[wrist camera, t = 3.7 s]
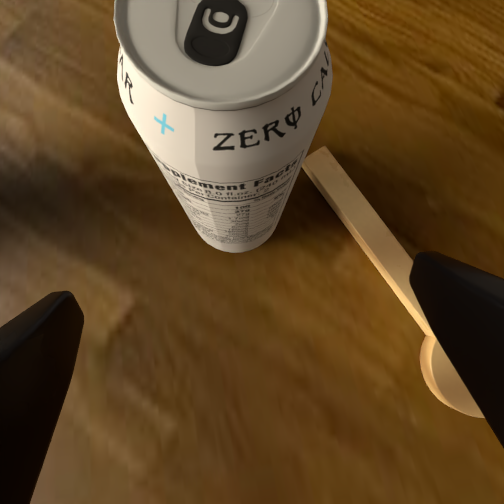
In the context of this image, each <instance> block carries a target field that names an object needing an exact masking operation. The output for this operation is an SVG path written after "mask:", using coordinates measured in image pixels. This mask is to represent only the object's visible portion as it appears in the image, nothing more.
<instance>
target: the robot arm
mask: <svg viewBox="0 0 504 504" xmlns="http://www.w3.org/2000/svg"><path fill="white" fill-rule="evenodd" d="M409 283H410V286H411V288H412V290H413V292H414V294H415V296H416V299H417V301H418V303H419V305H420V307H421V309H422V311H423V313H424V315H425V317H426V320H427V322H428V324H429V326H430V328H431V330H432V332H433V334H434V335H435V337H436V339H437V340H438V342H439V344H440V345H441V347H442V349H443V350H444V352H445V354H446V355H447V357H448V358H449V360H450V362H451V363H452V365H453V367H454V368H455V370H456V371H457V373H458V375H459V376H460V378H461V380H462V381H463V383H464V385H465V386H466V388H467V389H468V391H469V393H470V394H471V396H472V398H473V399H474V401H475V402H476V404H477V406H478V407H479V409H480V411H481V412H482V414H483V415H484V417H485V419H486V420H487V422H488V424H489V425H490V427H491V429H492V430H493V432H494V433H495V435H496V437H497V438H498V440H499V442H500V443H501V445H502V446H503V448H504V279H503V278H500V277H498V276H495V275H493V274H490V273H488V272H485V271H483V270H480V269H478V268H476V267H473V266H471V265H468V264H466V263H463V262H461V261H458V260H456V259H453V258H451V257H448V256H446V255H444V254H441V253H439V252H436V251H426V252H419V253H418V254H417V255H416V256H415V259H414V262H413V265H412V268H411V272H410V275H409ZM83 325H84V315H83V312H82V310H81V308H80V307H79V305H78V303H77V301H76V299H75V297H74V295H73V294H72V293H71V292H70V291H60V292H52V293H50V294H48V295H47V296H45V297H44V298H43V299H41V300H40V301H38V302H37V303H35V304H34V305H32V306H31V307H30V308H28V309H27V310H25V311H24V312H22V313H21V314H19V315H18V316H17V317H15V318H14V319H12V320H11V321H9V322H8V323H6V324H5V325H3V326H2V327H1V328H0V504H30V501H31V498H32V495H33V492H34V489H35V486H36V483H37V480H38V477H39V474H40V471H41V468H42V465H43V462H44V459H45V457H46V454H47V451H48V448H49V445H50V442H51V439H52V436H53V433H54V430H55V427H56V424H57V421H58V418H59V415H60V412H61V409H62V406H63V403H64V400H65V397H66V394H67V391H68V388H69V385H70V382H71V378H72V375H73V371H74V366H75V362H76V357H77V352H78V348H79V343H80V338H81V334H82V329H83Z"/></svg>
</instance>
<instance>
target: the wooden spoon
mask: <svg viewBox="0 0 504 504" xmlns="http://www.w3.org/2000/svg"><path fill="white" fill-rule="evenodd" d="M301 167H302V168H303V170H304V171H305V172H306V174H307V175H308V176H309V178H310V179H311V180H312V182H313V183H314V184H315V186H316V187H317V188H318V190H319V191H320V192H321V194H322V195H323V197H324V198H325V199H326V201H327V202H328V203H329V205H330V206H331V207H332V209H333V210H334V211H335V213H336V214H337V215H338V217H339V218H340V219H341V221H342V222H343V224H344V225H345V226H346V228H347V229H348V230H349V232H350V233H351V234H352V236H353V237H354V238H355V240H356V241H357V242H358V244H359V245H360V247H361V248H362V249H363V251H364V252H365V253H366V255H367V256H368V257H369V259H370V260H371V261H372V263H373V264H374V265H375V267H376V268H377V269H378V271H379V272H380V274H381V275H382V276H383V278H384V279H385V280H386V282H387V283H388V284H389V286H390V287H391V288H392V290H393V291H394V292H395V294H396V295H397V297H398V298H399V299H400V301H401V302H402V303H403V305H404V306H405V307H406V309H407V310H408V311H409V313H410V314H411V315H412V317H413V318H414V319H415V321H416V322H417V324H418V325H419V326H420V328H421V329H422V330H423V332H424V333H425V334H426V337H425V339H424V341H423V344H422V347H421V352H420V365H421V370H422V374H423V377H424V379H425V382H426V384H427V385H428V387H429V389H430V390H431V391H432V393H433V394H434V395H435V396H436V397H437V398H438V399H439V400H440V401H441V402H443V403H444V404H446V405H447V406H449V407H451V408H453V409H455V410H457V411H459V412H461V413H464V414H466V415H469V416H473V417H479V418H485V417H484V415H483V414H482V412H481V411H480V409H479V407H478V406H477V404H476V402H475V401H474V399H473V398H472V396H471V394H470V393H469V391H468V389H467V388H466V386H465V385H464V383H463V381H462V380H461V378H460V376H459V375H458V373H457V371H456V370H455V368H454V367H453V365H452V363H451V362H450V360H449V358H448V357H447V355H446V354H445V352H444V350H443V349H442V347H441V345H440V344H439V342H438V340H437V339H436V337H435V335H434V334H433V332H432V330H431V328H430V326H429V324H428V322H427V320H426V317H425V315H424V313H423V311H422V309H421V307H420V305H419V303H418V301H417V299H416V296H415V294H414V292H413V290H412V288H411V286H410V283H409V275H410V272H411V268H412V265H413V260H412V259H411V258H410V256H409V255H408V254H407V252H406V251H405V250H404V248H403V247H402V246H401V244H400V243H399V242H398V241H397V239H396V238H395V237H394V235H393V234H392V233H391V231H390V230H389V229H388V227H387V226H386V225H385V224H384V222H383V221H382V220H381V218H380V217H379V216H378V214H377V213H376V212H375V210H374V209H373V208H372V206H371V205H370V204H369V203H368V201H367V200H366V199H365V197H364V196H363V195H362V193H361V192H360V191H359V189H358V188H357V187H356V186H355V184H354V183H353V182H352V180H351V179H350V178H349V176H348V175H347V174H346V172H345V171H344V170H343V168H342V167H341V166H340V165H339V163H338V162H337V161H336V159H335V158H334V157H333V155H332V154H331V153H330V151H329V150H328V149H327V148H326V146H324V147H322V148H320V149H319V150H317V151H316V152H314V153H312V154H311V155H309V156H307V157H306V158H305V159H304V161H303V164H302V166H301Z"/></svg>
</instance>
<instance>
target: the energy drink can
mask: <svg viewBox="0 0 504 504" xmlns="http://www.w3.org/2000/svg"><path fill="white" fill-rule="evenodd" d="M114 23H115V28H116V33H117V38H118V40H119V42H120V49H119V55H118V71H117V80H118V86H119V91H120V97H121V99H122V102H123V104H124V106H125V109H126V111H127V113H128V115H129V117H130V119H131V121H132V122H133V124H134V126H135V127H136V129H137V131H138V132H139V134H140V136H141V137H142V139H143V141H144V143H145V144H146V146H147V148H148V149H149V151H150V153H151V154H152V156H153V158H154V159H155V161H156V163H157V165H158V166H159V168H160V170H161V171H162V173H163V175H164V176H165V178H166V180H167V181H168V183H169V185H170V187H171V188H172V190H173V192H174V193H175V195H176V197H177V198H178V200H179V202H180V203H181V205H182V207H183V209H184V210H185V212H186V214H187V215H188V217H189V219H190V220H191V222H192V224H193V225H194V227H195V229H196V231H197V232H198V233H199V235H200V236H201V238H203V239H204V240H205V241H206V242H207V243H208V244H210V245H211V246H213V247H214V248H216V249H219V250H222V251H226V252H232V253H236V252H245V251H249V250H252V249H254V248H256V247H258V246H260V245H261V244H263V243H264V242H265V241H266V240H267V239H268V238H269V237H270V236H271V235H272V233H273V232H274V230H275V228H276V226H277V224H278V221H279V219H280V216H281V214H282V212H283V209H284V207H285V204H286V202H287V200H288V197H289V195H290V192H291V190H292V188H293V185H294V183H295V180H296V178H297V176H298V173H299V171H300V168H301V166H302V164H303V161H304V159H305V156H306V154H307V152H308V149H309V147H310V144H311V142H312V140H313V137H314V135H315V132H316V130H317V128H318V125H319V123H320V120H321V118H322V116H323V113H324V111H325V108H326V105H327V102H328V100H329V97H330V93H331V85H332V77H333V75H332V65H331V56H330V52H329V49H328V46H327V43H326V40H325V37H326V30H327V23H328V12H327V2H326V0H115V6H114Z"/></svg>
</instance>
